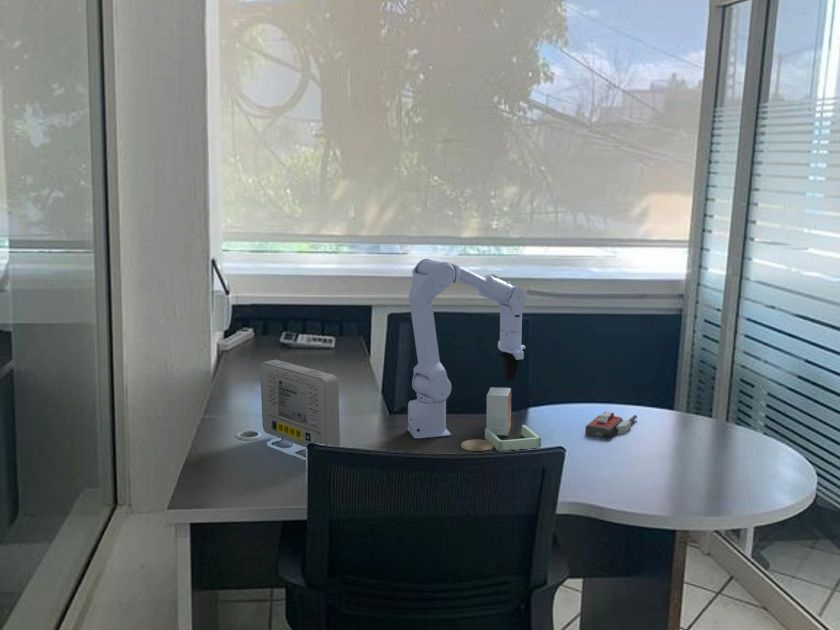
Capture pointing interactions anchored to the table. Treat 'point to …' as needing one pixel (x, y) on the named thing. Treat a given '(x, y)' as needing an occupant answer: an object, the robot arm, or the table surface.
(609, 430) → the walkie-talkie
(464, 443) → the cork coaster
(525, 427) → the bracket
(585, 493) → the table surface
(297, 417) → the network device
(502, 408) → the small box
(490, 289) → the robot arm
